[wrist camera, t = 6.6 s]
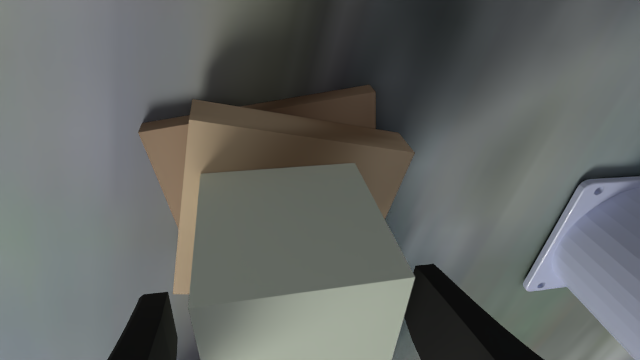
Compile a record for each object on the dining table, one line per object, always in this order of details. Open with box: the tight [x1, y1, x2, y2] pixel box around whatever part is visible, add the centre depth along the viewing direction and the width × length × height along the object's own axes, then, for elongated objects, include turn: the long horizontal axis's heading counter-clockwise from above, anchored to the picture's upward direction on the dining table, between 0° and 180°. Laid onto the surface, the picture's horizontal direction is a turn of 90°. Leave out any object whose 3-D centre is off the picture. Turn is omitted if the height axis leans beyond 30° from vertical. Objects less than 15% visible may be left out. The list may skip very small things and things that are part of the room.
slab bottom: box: [138, 85, 376, 229], centre depth 16 cm, size 8×8×2 cm
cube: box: [188, 163, 415, 360], centre depth 12 cm, size 5×5×5 cm
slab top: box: [173, 99, 415, 294], centre depth 14 cm, size 7×7×2 cm
